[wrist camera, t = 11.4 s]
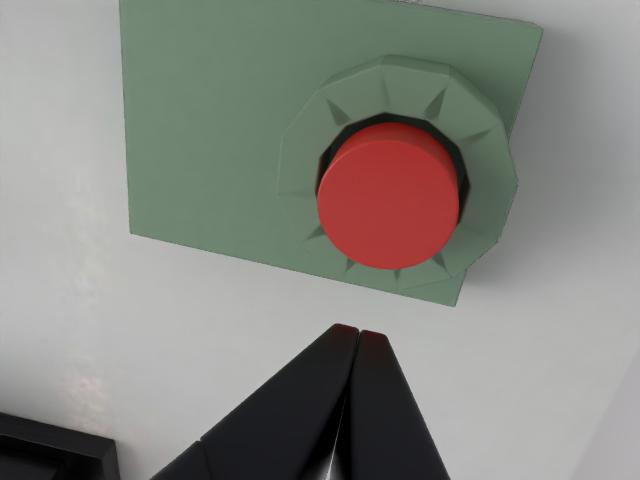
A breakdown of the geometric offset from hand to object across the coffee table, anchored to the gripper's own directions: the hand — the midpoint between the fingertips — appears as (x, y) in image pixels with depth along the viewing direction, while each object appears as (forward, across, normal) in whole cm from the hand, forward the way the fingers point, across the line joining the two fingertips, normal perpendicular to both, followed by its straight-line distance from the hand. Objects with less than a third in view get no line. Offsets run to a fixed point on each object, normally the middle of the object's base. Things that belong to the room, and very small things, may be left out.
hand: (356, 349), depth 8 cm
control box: (+10, +3, 0) cm, 11 cm away
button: (+7, 0, 0) cm, 7 cm away
